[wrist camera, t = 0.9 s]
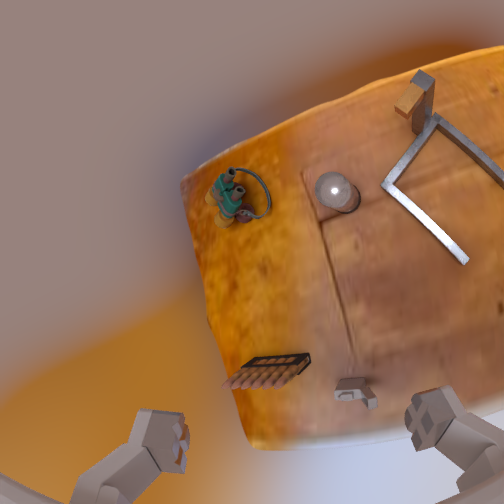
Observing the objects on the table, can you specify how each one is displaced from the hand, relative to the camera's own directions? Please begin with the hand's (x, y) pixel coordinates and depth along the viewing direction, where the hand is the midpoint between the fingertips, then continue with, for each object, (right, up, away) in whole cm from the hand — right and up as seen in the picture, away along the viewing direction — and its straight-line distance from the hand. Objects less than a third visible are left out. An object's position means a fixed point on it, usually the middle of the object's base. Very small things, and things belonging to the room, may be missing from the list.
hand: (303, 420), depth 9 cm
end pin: (+12, +14, +35) cm, 39 cm away
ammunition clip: (+3, -13, +41) cm, 43 cm away
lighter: (+16, -15, +34) cm, 41 cm away
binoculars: (-2, +14, +43) cm, 46 cm away
